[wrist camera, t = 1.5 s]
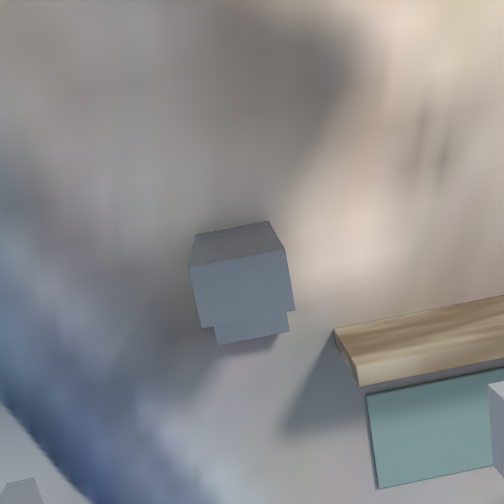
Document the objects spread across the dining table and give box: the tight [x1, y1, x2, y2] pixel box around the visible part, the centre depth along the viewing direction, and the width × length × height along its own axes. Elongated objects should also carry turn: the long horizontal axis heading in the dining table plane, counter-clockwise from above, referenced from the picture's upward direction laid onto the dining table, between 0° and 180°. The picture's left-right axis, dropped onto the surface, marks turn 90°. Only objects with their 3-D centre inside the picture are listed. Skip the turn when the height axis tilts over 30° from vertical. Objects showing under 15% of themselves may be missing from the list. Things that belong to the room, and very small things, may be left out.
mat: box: [366, 367, 504, 489], centre depth 44 cm, size 10×13×1 cm
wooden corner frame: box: [334, 295, 504, 387], centre depth 40 cm, size 18×24×7 cm
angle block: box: [188, 221, 295, 346], centre depth 34 cm, size 9×6×10 cm, turn 10°
